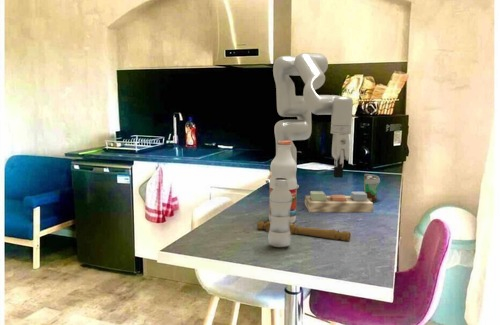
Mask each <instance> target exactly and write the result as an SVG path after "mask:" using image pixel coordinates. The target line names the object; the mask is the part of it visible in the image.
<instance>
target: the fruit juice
mask: <svg viewBox="0 0 500 325" xmlns="http://www.w3.org/2000/svg"><path fill="white" fill-rule="evenodd" d="M277 146H278V150H277V154H276V153H275V156H274V158H273V159H272V160H271V162H270V165H269V166H270V173H271V176H270V178H269V179H270V183H269V196H270V193H271V192H272V190H273V189H274V188H275V185H274V179H275V178H287V180H288V186H287V188H288V189H289V191H290V192H291V194H292V203H291V209H290V219H289V221H290V223H293V224H294V223H295V222H296V221H297V220H296V219H297V193H298V192H297V191H298V189H297V184H298V182H297V176H296V177H295V174H296V175H297V169H298V165H297V161H296V162H295V160H294V159H293V157H292V154H291V150H290V147H291V141H287V140H279V141H277ZM268 199H269V198H268ZM268 205H269V206H268V220H269V221H271V208H270V199H269V200H268Z"/></svg>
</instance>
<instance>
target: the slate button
mask: <svg viewBox="0 0 500 325" xmlns="http://www.w3.org/2000/svg"><path fill="white" fill-rule="evenodd" d="M350 196H351V200H352V201H367V194H366V193H365V192H364V191H350Z"/></svg>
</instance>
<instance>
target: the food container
mask: <svg viewBox="0 0 500 325" xmlns="http://www.w3.org/2000/svg"><path fill="white" fill-rule="evenodd" d="M363 180H364V181H363V192H365V193H366V194H367V198H368V199H369V200H370V201H371V202H372V203H375V202H377V197H378V191H379V184H380V183H381V179H380V176H378V175H376V174H369V173H364V178H363Z"/></svg>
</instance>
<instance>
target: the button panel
mask: <svg viewBox="0 0 500 325" xmlns="http://www.w3.org/2000/svg"><path fill="white" fill-rule="evenodd" d="M344 196H345V197H346V201H332V200H331V199H330V197H331V195H325V201H311V200H310V195H304V206H306V209H307V211H308V212H309V213H370V214H371V213H374V202H371V201H370V200H369V199H368V198H367V201H352V200H351V195H344Z"/></svg>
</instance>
